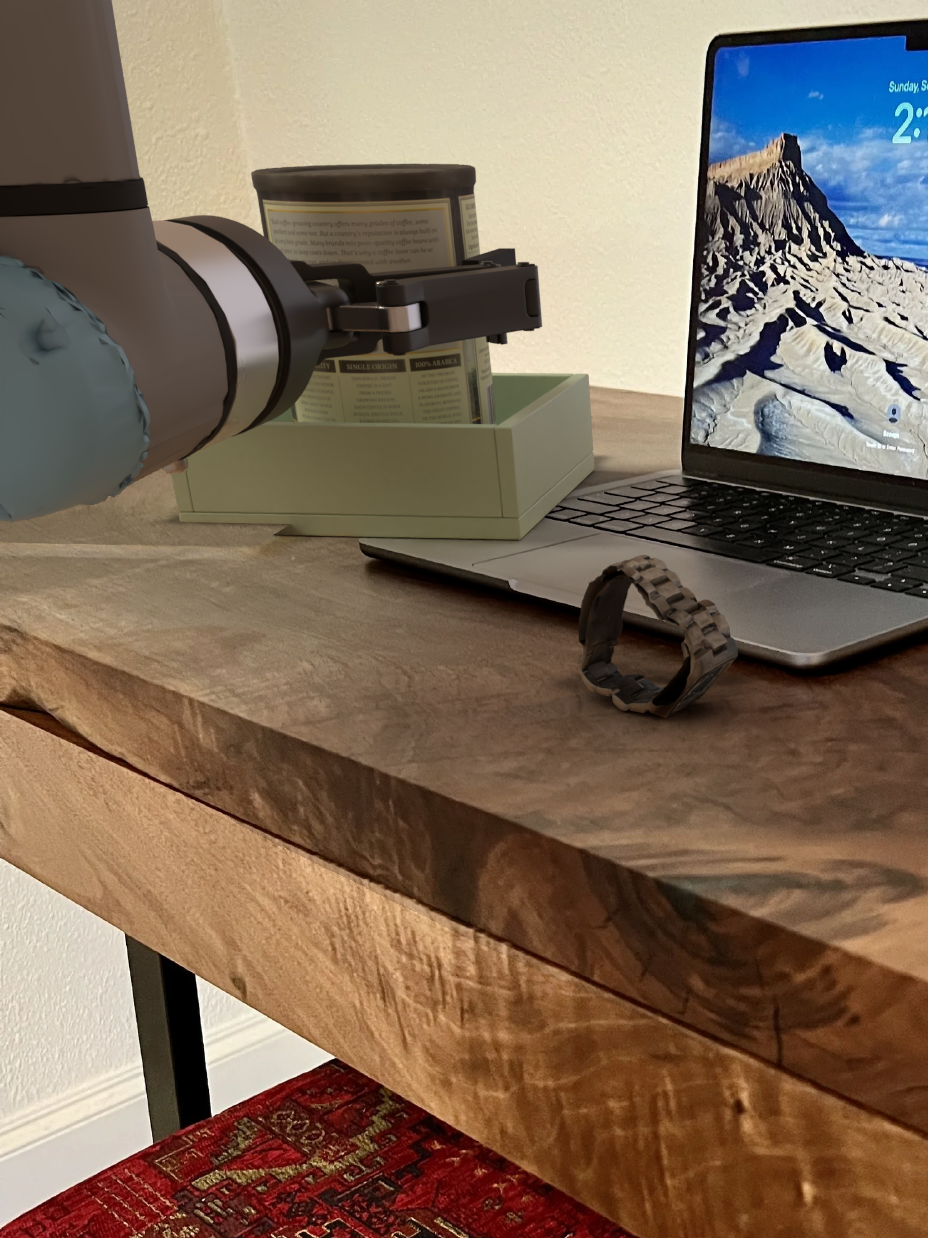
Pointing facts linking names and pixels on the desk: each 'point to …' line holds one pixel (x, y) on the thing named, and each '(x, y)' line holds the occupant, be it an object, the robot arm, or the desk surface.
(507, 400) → the drawer tray
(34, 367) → the robot arm
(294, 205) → the coffee can
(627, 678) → the wristwatch
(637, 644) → the desk surface
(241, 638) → the desk surface
